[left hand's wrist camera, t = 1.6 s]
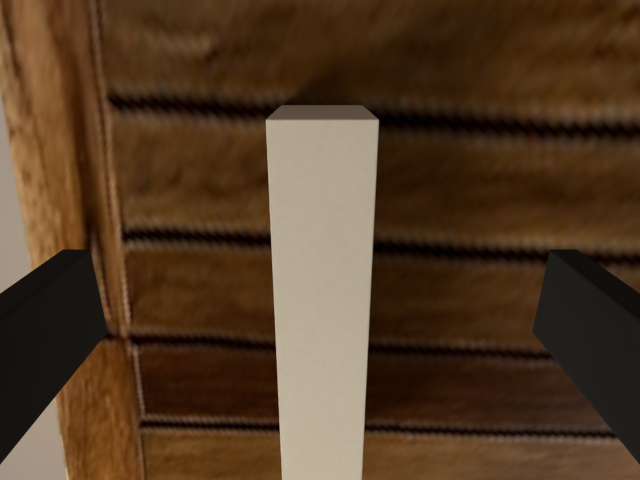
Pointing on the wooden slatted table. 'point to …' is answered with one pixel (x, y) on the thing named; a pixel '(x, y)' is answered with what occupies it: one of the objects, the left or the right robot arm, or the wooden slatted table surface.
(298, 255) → the plank
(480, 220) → the wooden slatted table surface
